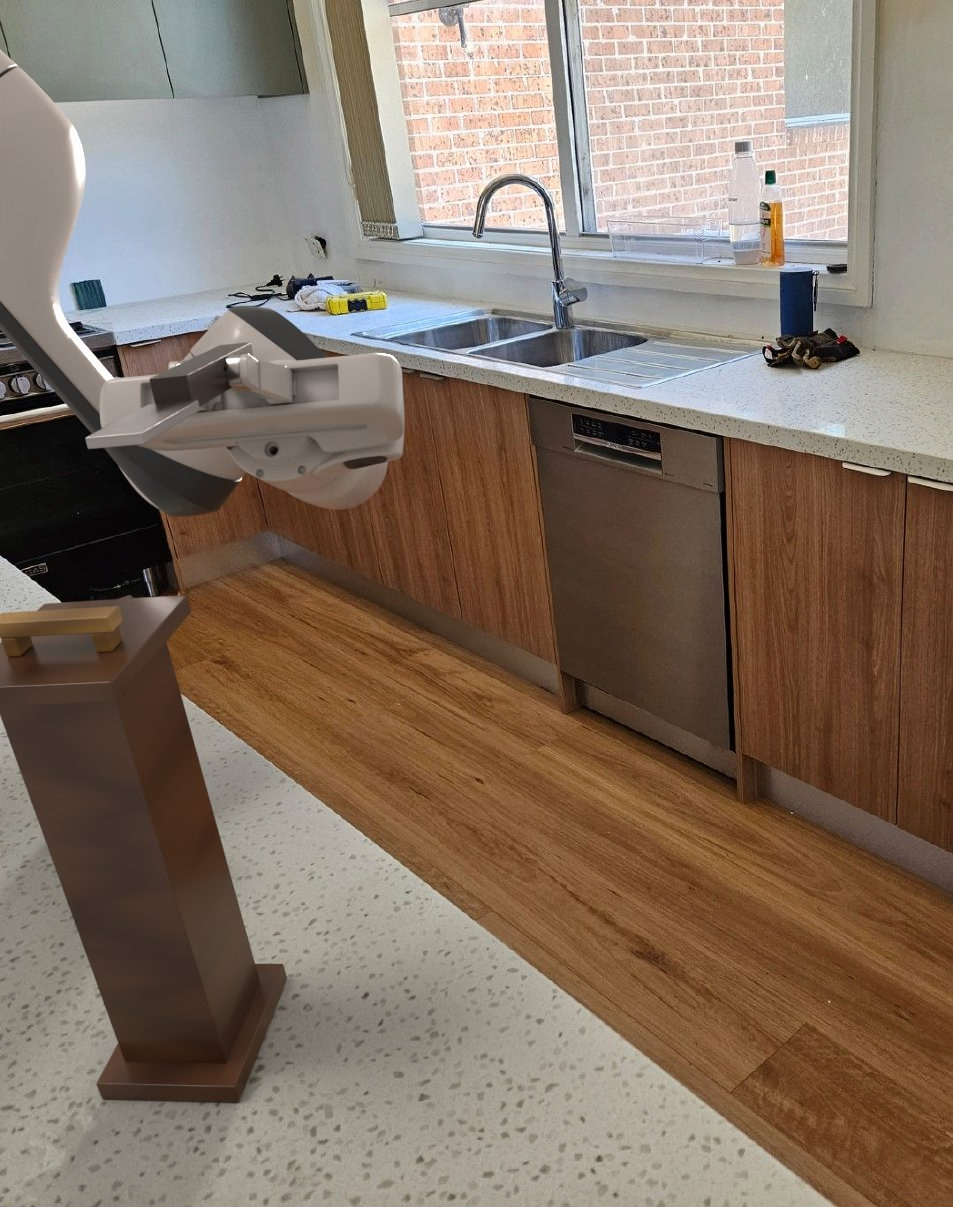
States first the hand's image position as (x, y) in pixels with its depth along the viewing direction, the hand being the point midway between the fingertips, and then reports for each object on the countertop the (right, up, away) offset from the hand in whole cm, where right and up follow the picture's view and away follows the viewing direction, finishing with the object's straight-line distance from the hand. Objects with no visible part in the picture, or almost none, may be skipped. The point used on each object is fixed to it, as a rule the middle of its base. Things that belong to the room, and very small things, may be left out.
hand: (207, 370), depth 64 cm
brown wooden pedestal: (0, -39, -2) cm, 39 cm away
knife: (0, -2, -2) cm, 3 cm away
